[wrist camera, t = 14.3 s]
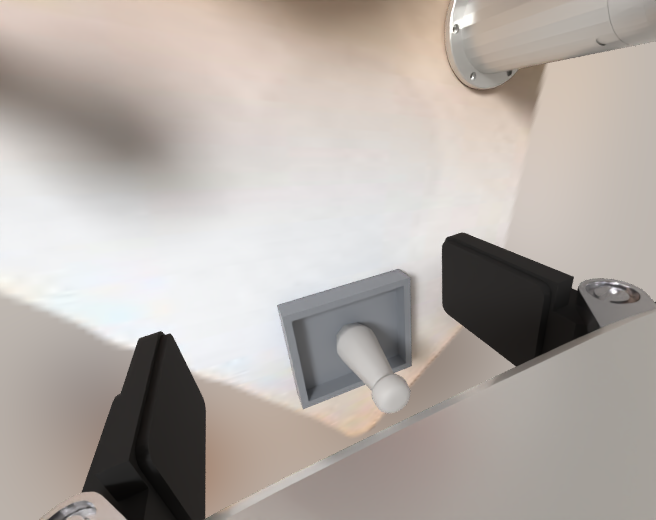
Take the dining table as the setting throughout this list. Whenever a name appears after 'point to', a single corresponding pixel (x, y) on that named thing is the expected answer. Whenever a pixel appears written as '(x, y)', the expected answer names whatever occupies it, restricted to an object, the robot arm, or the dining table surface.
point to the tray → (327, 320)
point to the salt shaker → (372, 367)
